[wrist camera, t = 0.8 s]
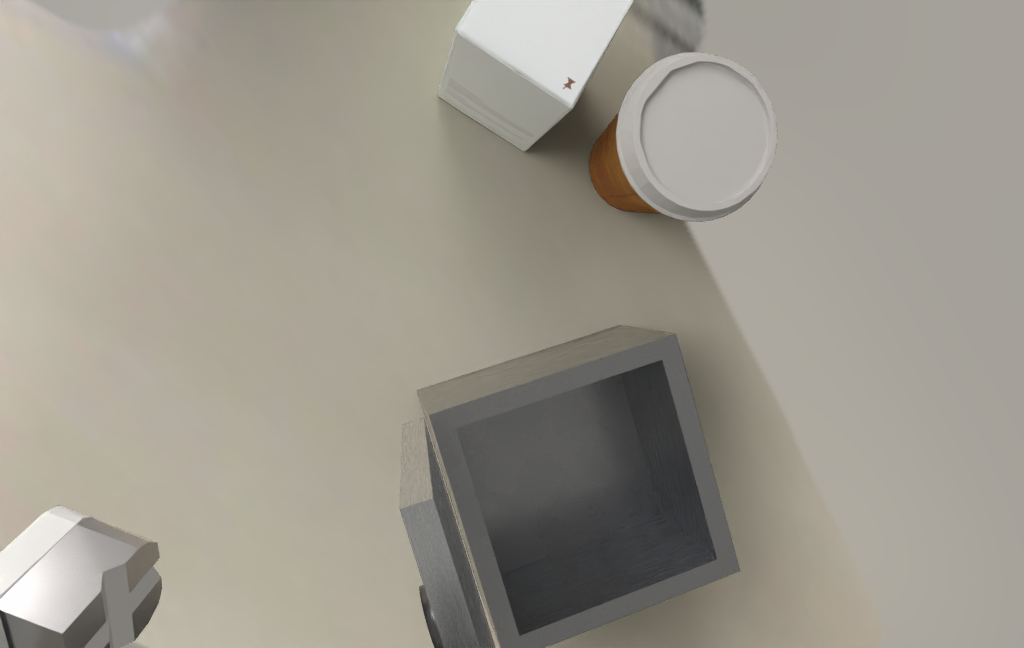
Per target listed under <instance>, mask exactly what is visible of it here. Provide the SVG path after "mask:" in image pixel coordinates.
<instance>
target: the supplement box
mask: <svg viewBox="0 0 1024 648" xmlns="http://www.w3.org/2000/svg"><path fill="white" fill-rule="evenodd" d="M633 1H634V0H473V1H472V2H471V4H470V6H469V7H468V9H467V10H466V12H465V13H464V15H463V17H462V18H461V20H460V21H459V23H458V25H457V26H456V28H455V34H454V39H453V42H452V46H451V49H450V52H449V56H448V59H447V62H446V65H445V68H444V71H443V75H442V78H441V82H440V86H439V90H438V96H439V97H440V98H442V99H443V100H445V101H446V102H448V103H449V104H451V105H452V106H454V107H455V108H457V109H458V110H460V111H461V112H463V113H464V114H466V115H467V116H469V117H471V118H472V119H474V120H475V121H477V122H478V123H480V124H482V125H483V126H485V127H486V128H488V129H489V130H491V131H492V132H494V133H496V134H497V135H499V136H500V137H502V138H503V139H505V140H506V141H508V142H510V143H511V144H513V145H514V146H516V147H517V148H519V149H520V150H522V151H524V152H525V151H526V150H528V149H529V148H530V147H531V146H532V145H533V144H534V143H535V142H536V141H538V140H539V139H540V138H541V137H542V136H543V135H544V134H545V133H546V132H548V131H549V130H550V129H551V128H552V127H553V126H554V125H555V124H556V123H558V122H559V121H560V120H561V119H562V118H563V117H564V116H565V115H566V114H567V113H569V112H570V111H571V110H572V109H573V108H574V106H575V104H576V103H577V101H578V99H579V97H580V96H581V94H582V92H583V90H584V89H585V87H586V85H587V83H588V82H589V80H590V78H591V76H592V75H593V73H594V71H595V69H596V67H597V66H598V64H599V62H600V60H601V58H602V57H603V55H604V53H605V51H606V50H607V48H608V46H609V44H610V42H611V41H612V39H613V37H614V35H615V33H616V31H617V30H618V28H619V26H620V24H621V22H622V21H623V19H624V17H625V15H626V13H627V12H628V10H629V8H630V6H631V5H632V3H633Z"/></svg>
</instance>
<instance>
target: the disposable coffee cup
mask: <svg viewBox="0 0 1024 648" xmlns="http://www.w3.org/2000/svg"><path fill="white" fill-rule="evenodd" d="M776 145H777V123H776V118H775V113H774V109H773V107H772V104H771V102H770V100H769V97H768V95H767V93H766V91H765V90H764V88H763V87H762V86H761V85H760V83H759V82H758V81H757V79H756V78H755V77H754V75H752V74H751V73H749V72H748V71H747V70H746V69H744V68H743V67H742V66H740V65H739V64H738V63H736V62H733V61H731V60H728V59H725V58H722V57H719V56H717V55H711V54H706V53H702V52H693V53H680V54H676V55H672V56H668V57H666V58H664V59H662V60H660V61H658V62H656V63H654V64H653V65H652V66H650V67H649V68H648V69H646V70H645V71H644V72H643V73H642V74H641V75H640V76H639V77H638V78H637V79H636V80H635V82H634V83H633V84H632V86H631V87H630V89H629V90H628V92H627V93H626V95H625V98H624V100H623V103H622V105H621V108H620V111H619V112H618V114H617V115H616V116H615V118H614V119H613V120H612V122H611V123H610V124H609V125H608V127H607V128H606V130H605V131H604V132H603V133H602V135H601V136H600V137H599V138H598V140H597V141H596V143H595V144H594V146H593V149H592V152H591V155H590V162H589V169H590V175H591V179H592V183H593V185H594V187H595V189H596V191H597V192H598V194H599V195H600V196H601V197H602V198H603V199H604V200H605V201H606V202H607V203H608V204H610V205H611V206H613V207H615V208H617V209H620V210H624V211H629V212H647V213H660V214H665V215H667V216H669V217H671V218H675V219H679V220H683V221H696V222H702V221H709V220H714V219H718V218H721V217H724V216H726V215H728V214H730V213H732V212H734V211H736V210H737V209H739V208H740V207H741V206H742V205H744V204H745V203H746V202H747V201H749V200H750V198H751V197H752V196H753V195H754V193H755V192H756V191H757V190H758V189H759V187H760V185H761V184H762V182H763V180H764V179H765V177H766V175H767V173H768V172H769V169H770V168H771V165H772V162H773V159H774V154H775V151H776Z"/></svg>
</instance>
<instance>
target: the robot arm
mask: <svg viewBox="0 0 1024 648" xmlns="http://www.w3.org/2000/svg"><path fill="white" fill-rule="evenodd" d="M159 558H160V556H159V550H158V543H157V542H154V541H152V540H149V539H146V538H144V537H141V536H138V535H136V534H133V533H130V532H128V531H125V530H122V529H120V528H117V527H114V526H112V525H109V524H106V523H104V522H101V521H98V520H96V519H94V518H92V517H90V516H87V515H84V514H81V513H79V512H76V511H73V510H70V509H68V508H65V507H62V506H59V505H58V506H56V507H54V508H52V509H50V510H48V511H46V512H45V513H43V514H42V515H41V516H40V517H39V518H38V519H36V520H35V521H34V522H33V523H32V524H31V525H30V526H29V527H28V528H27V529H25V530H24V531H23V532H22V533H21V534H20V535H19V536H18V537H17V538H16V539H15V540H13V541H12V542H11V543H10V544H9V545H8V546H7V547H6V548H5V549H4V550H3V551H1V552H0V648H120V647H122V646H124V645H127V644H129V643H131V642H133V641H135V640H136V638H137V637H138V636H139V634H140V633H141V632H142V630H143V629H144V628H145V627H146V625H147V624H148V623H149V621H150V619H151V617H152V615H153V613H154V611H155V609H156V607H157V605H158V603H159V599H160V595H161V590H162V581H161V576H160V575H159V574H158V572H157V571H156V570H155V568H154V567H153V565H154V564H155V563H156V561H157V560H158V559H159Z"/></svg>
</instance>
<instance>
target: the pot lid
mask: <svg viewBox="0 0 1024 648" xmlns="http://www.w3.org/2000/svg"><path fill="white" fill-rule="evenodd" d="M400 511H401V515H402V518H403V521H404V524H405V527H406V530H407V533H408V537H409V540H410V543H411V546H412V549H413V552H414V555H415V559H416V562H417V565H418V568H419V571H420V574H421V577H422V580H423V584H424V585H421V586H420V587H419V590H420V597H421V602H422V607H423V611H424V615H425V619H426V623H427V626H428V630H429V633H430V636H431V639H432V642H433V645H434V647H435V648H495V645H494V641H493V638H492V635H491V632H490V629H489V625H488V622H487V619H486V616H485V612H484V609H483V606H482V603H481V600H480V596H479V593H478V590H477V587H476V584H475V580H474V577H473V574H472V571H471V568H470V564H469V561H468V558H467V555H466V551H465V548H464V545H463V542H462V539H461V535H460V532H459V529H458V526H457V523H456V519H455V516H454V513H453V510H452V506H451V503H450V500H449V497H448V494H447V490H446V487H445V484H444V481H443V478H442V474H441V471H440V468H439V465H438V461H437V458H436V455H435V452H434V449H433V445H432V442H431V439H430V436H429V433H428V429H427V426H426V423H425V420H424V418H421V419H417V420H414V421H411V422H408V423H405V424H403V425H402V456H401V487H400Z"/></svg>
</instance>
